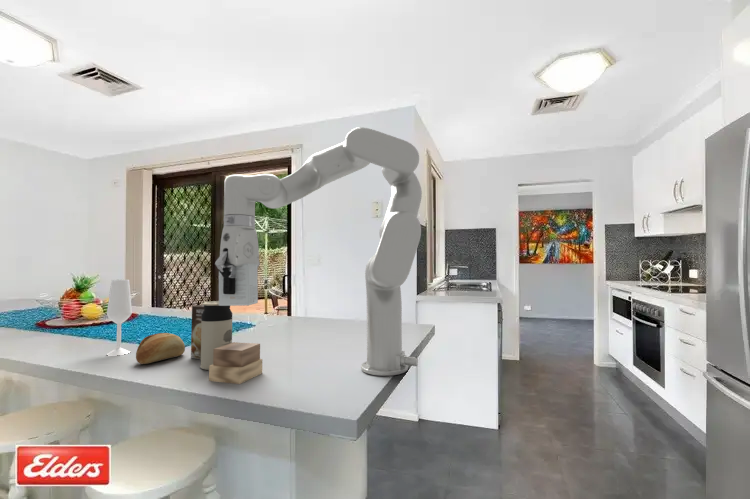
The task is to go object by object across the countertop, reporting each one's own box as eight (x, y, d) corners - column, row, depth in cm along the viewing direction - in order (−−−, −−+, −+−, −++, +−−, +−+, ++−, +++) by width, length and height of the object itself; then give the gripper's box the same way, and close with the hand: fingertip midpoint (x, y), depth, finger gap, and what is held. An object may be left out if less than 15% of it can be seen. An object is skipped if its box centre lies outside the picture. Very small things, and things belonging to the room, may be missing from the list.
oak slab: (262, 374, 93) (262, 359, 93) (239, 385, 85) (240, 368, 85) (233, 371, 96) (233, 356, 96) (209, 382, 87) (209, 365, 87)
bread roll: (124, 365, 101) (125, 337, 102) (168, 353, 116) (168, 328, 116) (150, 368, 99) (151, 339, 99) (192, 355, 113) (192, 330, 114)
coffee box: (189, 358, 109) (190, 305, 109) (205, 353, 115) (206, 303, 116) (213, 360, 106) (213, 306, 106) (228, 355, 112) (229, 304, 113)
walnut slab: (259, 358, 94) (260, 343, 94) (241, 367, 86) (242, 350, 86) (233, 357, 95) (233, 342, 96) (213, 365, 88) (213, 348, 88)
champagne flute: (125, 355, 113) (127, 280, 114) (101, 356, 111) (103, 280, 113) (134, 350, 119) (136, 279, 120) (112, 351, 118) (114, 279, 119)
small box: (258, 303, 93) (258, 263, 94) (248, 305, 88) (248, 263, 88) (229, 303, 94) (229, 263, 95) (217, 305, 89) (218, 263, 89)
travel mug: (194, 368, 98) (195, 303, 99) (218, 361, 105) (218, 300, 106) (214, 372, 94) (215, 304, 95) (237, 364, 101) (238, 301, 102)
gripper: (228, 218, 83) (227, 296, 82) (271, 226, 99) (271, 290, 98) (202, 220, 85) (201, 295, 84) (249, 227, 101) (248, 290, 101)
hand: (238, 292), depth 91 cm, fingers closed on small box, 6 cm apart
